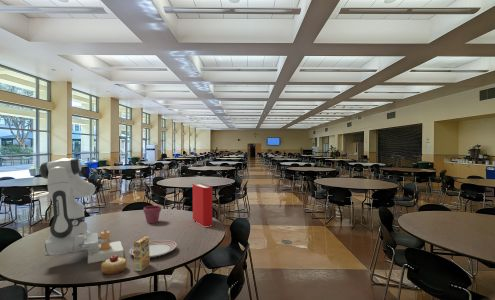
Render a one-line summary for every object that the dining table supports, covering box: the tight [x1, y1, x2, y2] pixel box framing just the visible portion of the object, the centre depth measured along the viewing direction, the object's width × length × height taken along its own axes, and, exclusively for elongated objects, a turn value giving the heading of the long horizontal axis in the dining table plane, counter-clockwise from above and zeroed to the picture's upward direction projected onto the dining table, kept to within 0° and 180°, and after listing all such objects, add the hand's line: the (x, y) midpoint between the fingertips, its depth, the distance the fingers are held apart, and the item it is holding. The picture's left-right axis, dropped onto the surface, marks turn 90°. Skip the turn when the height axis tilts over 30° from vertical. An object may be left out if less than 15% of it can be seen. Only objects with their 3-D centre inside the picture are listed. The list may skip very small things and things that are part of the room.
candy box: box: [133, 236, 151, 272], centre depth 145 cm, size 9×4×15 cm, turn 171°
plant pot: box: [143, 205, 162, 224], centre depth 236 cm, size 14×14×13 cm
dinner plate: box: [128, 239, 178, 259], centre depth 168 cm, size 27×27×3 cm
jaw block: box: [100, 228, 111, 251], centre depth 163 cm, size 4×4×13 cm
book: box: [192, 183, 213, 226], centre depth 231 cm, size 27×8×32 cm, turn 30°
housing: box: [87, 240, 124, 264], centre depth 163 cm, size 18×18×5 cm
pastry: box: [100, 255, 128, 275], centre depth 143 cm, size 12×12×9 cm
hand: (106, 238), depth 164 cm, fingers closed on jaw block, 4 cm apart
